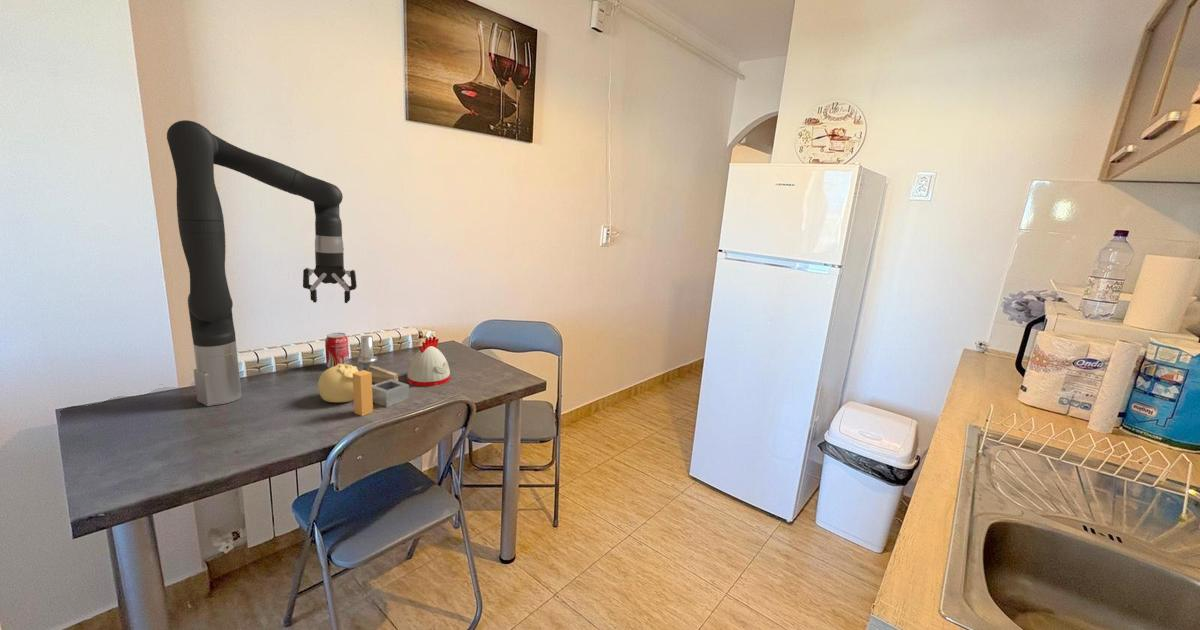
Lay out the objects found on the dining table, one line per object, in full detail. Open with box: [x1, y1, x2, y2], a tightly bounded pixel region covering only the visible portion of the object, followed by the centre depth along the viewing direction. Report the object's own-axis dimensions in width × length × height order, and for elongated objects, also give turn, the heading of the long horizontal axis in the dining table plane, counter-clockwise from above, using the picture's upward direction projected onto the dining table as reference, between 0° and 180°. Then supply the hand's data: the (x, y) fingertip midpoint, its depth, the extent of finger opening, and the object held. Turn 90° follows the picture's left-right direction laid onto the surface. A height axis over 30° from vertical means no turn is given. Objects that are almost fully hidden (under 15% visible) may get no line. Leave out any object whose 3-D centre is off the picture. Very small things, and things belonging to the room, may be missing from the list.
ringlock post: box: [357, 335, 378, 372], centre depth 157 cm, size 6×6×14 cm
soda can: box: [324, 332, 350, 369], centre depth 163 cm, size 7×7×12 cm
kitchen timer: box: [406, 335, 451, 387], centre depth 159 cm, size 14×14×15 cm
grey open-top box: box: [372, 379, 410, 408], centre depth 141 cm, size 8×8×4 cm
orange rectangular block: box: [353, 369, 374, 417], centre depth 131 cm, size 3×3×12 cm
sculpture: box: [317, 364, 360, 403], centre depth 139 cm, size 12×12×11 cm
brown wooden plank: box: [369, 365, 399, 384], centre depth 152 cm, size 2×12×5 cm, turn 62°
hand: (330, 302), depth 145 cm, fingers open, 8 cm apart
